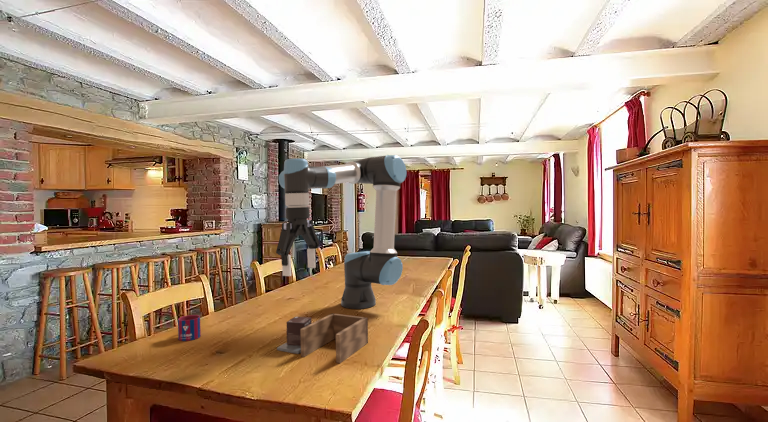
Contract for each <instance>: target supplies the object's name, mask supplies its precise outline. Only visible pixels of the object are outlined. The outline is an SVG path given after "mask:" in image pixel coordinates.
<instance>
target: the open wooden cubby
mask: <svg viewBox="0 0 768 422" xmlns="http://www.w3.org/2000/svg"><path fill="white" fill-rule="evenodd" d="M368 320H369V319H368V317H365V316H356V315H350V314H349V315H347V314H341V313H340V314H339V313H330V314H328V315H326V316H324V317H322V318H320V319H318V320H316V321H314V322H311V323H312V324H310V325H308V326H306V327H304V328H302V329H300V332H301V353H300V357H303V358H305V357H307V356H308V355H310V354H311V353H312V354H313V352H314V351H316V350H318V349H319V348H322V347H323V346H325V345H326V344H327V343H330V342H331V341H333V340H335V363H336V364H342V363H343V362H345V360H347V359H348V358H349V357H351V356H352V355H354V354H355V353H357V352H358V351H359V350H360V349H362V348H363V347H364V346H366V345H367V344H369V325H368V323H369V321H368Z"/></svg>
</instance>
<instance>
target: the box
mask: <svg viewBox="0 0 768 422" xmlns="http://www.w3.org/2000/svg"><path fill="white" fill-rule="evenodd" d="M312 323H313V322H312V317H308V316H294V317H292V318H290V319H289V320H288V321H286V343H287V345H295V346H301V332H300V329H302V328H304V327H306V326H308V325H310V324H312Z"/></svg>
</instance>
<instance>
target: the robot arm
mask: <svg viewBox="0 0 768 422" xmlns="http://www.w3.org/2000/svg"><path fill="white" fill-rule="evenodd" d="M308 162H309V161H308V160H307V159H306V158H300V157H299V158H287V159H285V160H284V164H283V170H282V171H281V172H280V174H279V175H278V182H279V183H278V184H279V185H280V187H281V188H283V189H284V192H285V193H284V194H285V206H286V208H285V218H286V220H288V222H282V223H281V231H280V235H279V239H278V243H277V247H276V249H275V250H276V251H275V253H276V254H277V255H279V256H280V257H281V267H282V277H291V276H292V259H291V257H292V255H291V254H290V253H291V250H292V247H293V245H294V243H295V240H296V238H298V236H299V237H300V236H301V237H302V238H303V240H304V242H305V243H306V245H307V247H308V248H307V249H306V252H307V253H306V255H307V268H309V269H316V268H317V266H316V265H317V262H316V257H317V256H316V249H318V248H319V246H320V242H319V239H318V235H317V233H316V229H315V227H314V220H313V219H310V214H311V213H310V207H308V206H309V205H310V191H309V190H311V189H313V190H315V189H331V188H333V186H335V185H336V184H337V185H338V184H345V183H348V184H350V185H351V184H352V185H355V184H364V185H365V184H366V185H368V184H369V185H372V188H374V190H375V206H374V207H375V209H374V210H375V211H374V229H373V230H374V231H373V248H372V249H371V250H366V251H364V250H363V251H358V252H350V253H346V255H344V263H343V265H344V290H343V293H342V297H341V301H340V302H341V303H340V306H341V307H342V308H345V309H351V310H352V309H355V310H357V309H358V310H361V309H368V308H372V307H375V306H376V303H377V301H376V295H375V293H374V290H373V287H372V284H375V285H382V286H393V285H395V284H396V283H397V282H398V281H399V280H400V278H401V277H402V273H403V267H404V266H403V264H404V263H403V262H402V259H401V258H399V257H398V252H397V250H396V249H395V236H396V235H395V234H396V211H397V210H396V209H397V191H398V190H400V189H401V184H402V183H403V182H404V181H405V180H406V178H407V166H406V164H405V162H404V160H403V159H402V158H401V157H400V156H399V155H397V154H393V155H392V154H390V155H389V154H386V155H380V156H371V157H370V156H369V157H365V158H362V159H359V160H353V161H352V160H350V161H348V162H346V163H345V164H344V163H343V164H334V165H324V166H323V165H322V166H320V165H319V166H314V165H313V166H312V165H309V163H308Z"/></svg>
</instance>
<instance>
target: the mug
mask: <svg viewBox="0 0 768 422" xmlns="http://www.w3.org/2000/svg"><path fill="white" fill-rule="evenodd" d="M201 330H202V329H201V315H200V314H189V315H183V316H181V317H179V318H178V319H177V334H178V335H177V336H178V338H177V339H178V341H181V342H189V341H194V340H197V339H199V338H200V337H201V335H202V334H201Z"/></svg>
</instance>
